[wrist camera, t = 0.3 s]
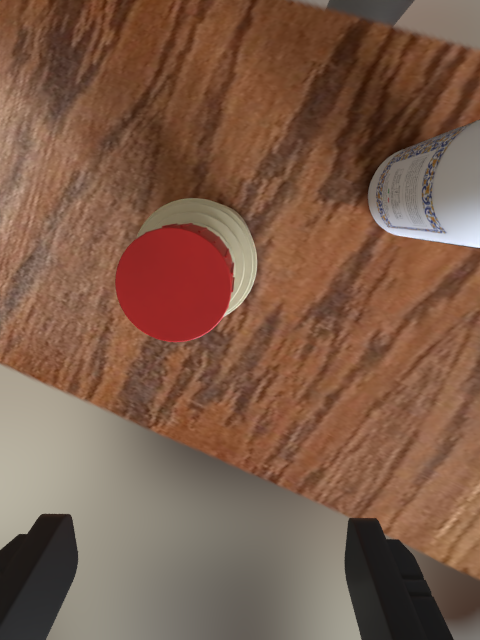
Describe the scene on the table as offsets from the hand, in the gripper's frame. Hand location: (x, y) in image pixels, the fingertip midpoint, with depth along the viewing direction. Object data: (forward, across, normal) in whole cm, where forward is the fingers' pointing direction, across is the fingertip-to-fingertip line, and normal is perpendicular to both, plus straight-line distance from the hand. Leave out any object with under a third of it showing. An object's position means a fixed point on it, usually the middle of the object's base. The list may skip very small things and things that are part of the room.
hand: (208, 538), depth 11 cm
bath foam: (+25, -14, -10) cm, 31 cm away
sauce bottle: (+25, +2, -6) cm, 26 cm away
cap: (+8, +2, -6) cm, 11 cm away
